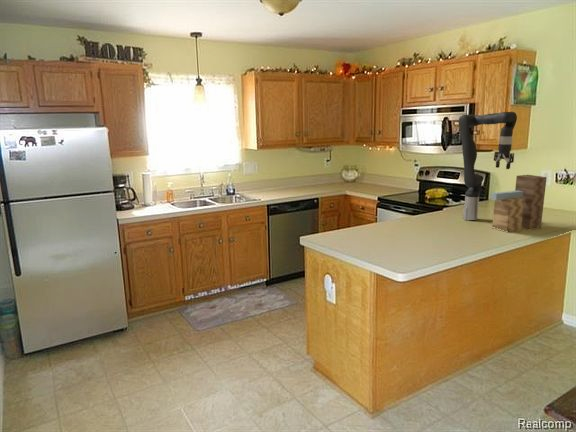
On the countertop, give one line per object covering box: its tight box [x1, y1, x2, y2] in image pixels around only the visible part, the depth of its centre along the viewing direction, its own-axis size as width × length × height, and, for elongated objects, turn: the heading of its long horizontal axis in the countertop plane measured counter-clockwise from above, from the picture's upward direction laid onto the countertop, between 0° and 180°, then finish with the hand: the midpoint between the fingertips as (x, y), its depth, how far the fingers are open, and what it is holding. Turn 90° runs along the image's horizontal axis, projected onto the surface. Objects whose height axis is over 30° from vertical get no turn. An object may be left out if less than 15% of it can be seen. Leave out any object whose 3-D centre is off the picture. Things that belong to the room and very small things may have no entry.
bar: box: [491, 190, 523, 201], centre depth 271 cm, size 22×4×4 cm, turn 109°
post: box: [514, 174, 547, 230], centre depth 279 cm, size 10×14×34 cm
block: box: [491, 198, 524, 232], centre depth 275 cm, size 12×12×21 cm
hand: (502, 168), depth 275 cm, fingers open, 8 cm apart
